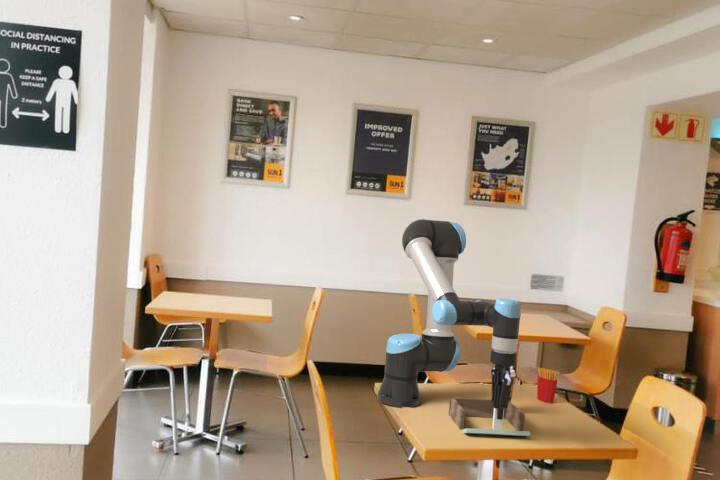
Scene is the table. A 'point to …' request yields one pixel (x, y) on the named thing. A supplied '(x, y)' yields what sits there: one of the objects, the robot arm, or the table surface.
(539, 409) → the table surface
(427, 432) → the table surface
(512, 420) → the crate
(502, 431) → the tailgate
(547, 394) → the french fries
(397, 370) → the robot arm
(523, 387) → the table surface
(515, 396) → the table surface
